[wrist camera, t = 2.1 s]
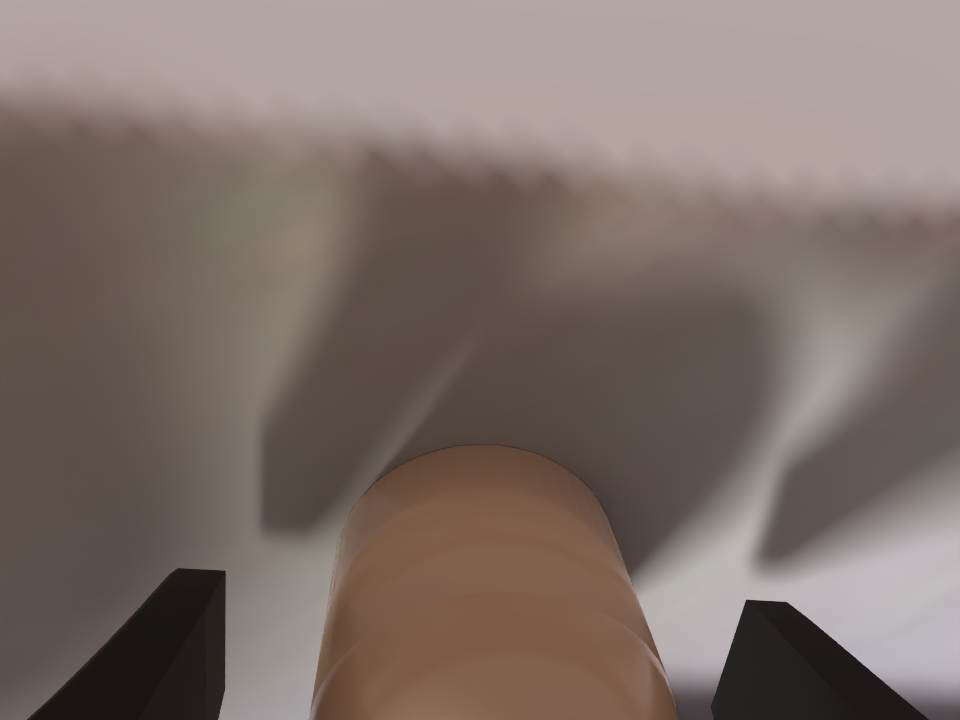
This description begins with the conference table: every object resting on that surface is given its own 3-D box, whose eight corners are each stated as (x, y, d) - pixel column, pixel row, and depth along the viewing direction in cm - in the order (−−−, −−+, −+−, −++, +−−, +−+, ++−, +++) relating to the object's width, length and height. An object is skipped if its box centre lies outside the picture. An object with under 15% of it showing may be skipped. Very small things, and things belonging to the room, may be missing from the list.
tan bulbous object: (327, 664, 13) (267, 1067, 8) (345, 432, 11) (282, 760, 6) (585, 677, 13) (682, 1064, 8) (640, 457, 12) (803, 779, 7)
